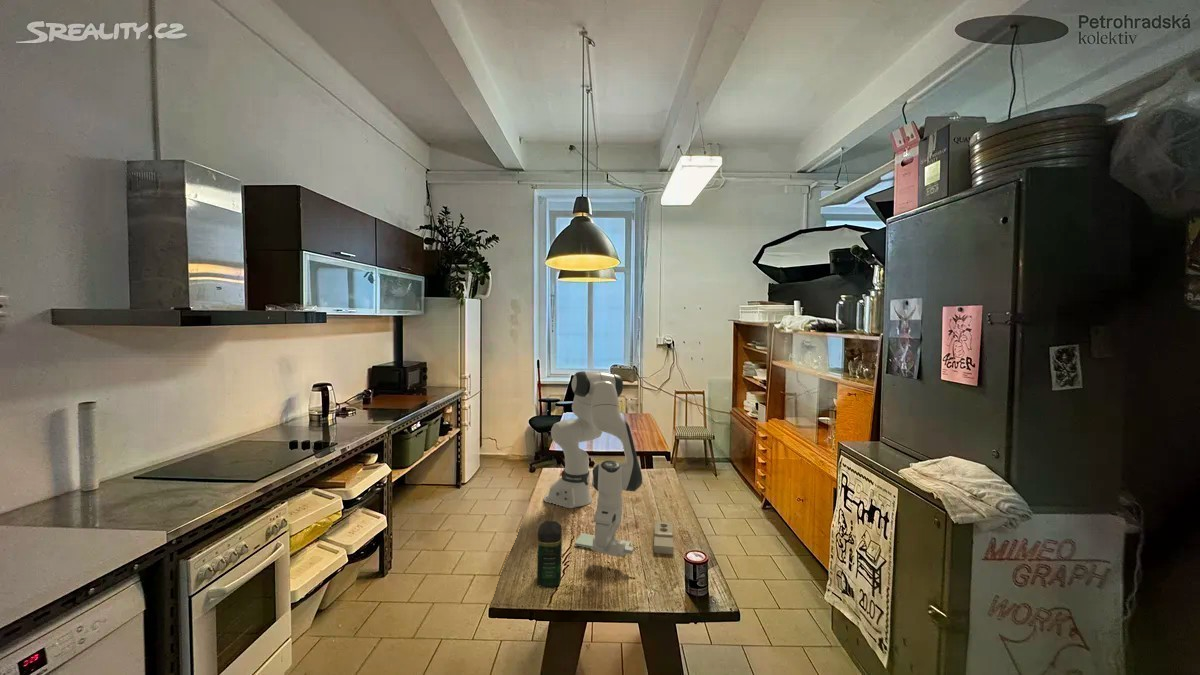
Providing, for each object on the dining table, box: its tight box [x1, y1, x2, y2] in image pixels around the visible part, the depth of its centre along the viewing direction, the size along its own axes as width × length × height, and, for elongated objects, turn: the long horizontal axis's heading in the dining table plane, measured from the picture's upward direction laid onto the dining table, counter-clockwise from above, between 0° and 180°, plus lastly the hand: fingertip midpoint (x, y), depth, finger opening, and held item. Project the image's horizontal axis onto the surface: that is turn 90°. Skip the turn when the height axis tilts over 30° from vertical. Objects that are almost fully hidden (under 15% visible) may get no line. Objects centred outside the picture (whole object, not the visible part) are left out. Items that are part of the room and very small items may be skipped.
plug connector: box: [592, 536, 635, 558], centre depth 157 cm, size 15×4×4 cm, turn 72°
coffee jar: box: [536, 520, 563, 588], centre depth 147 cm, size 10×8×19 cm
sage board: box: [574, 532, 632, 556], centre depth 170 cm, size 20×8×1 cm, turn 72°
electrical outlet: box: [653, 520, 675, 555], centre depth 173 cm, size 7×4×18 cm
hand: (608, 546), depth 157 cm, fingers closed on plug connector, 4 cm apart
